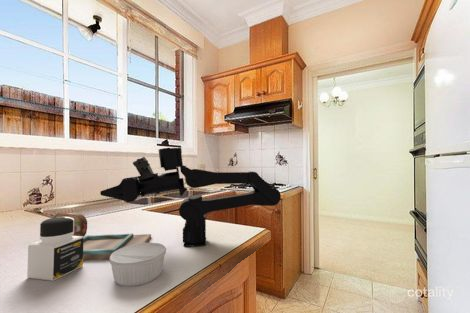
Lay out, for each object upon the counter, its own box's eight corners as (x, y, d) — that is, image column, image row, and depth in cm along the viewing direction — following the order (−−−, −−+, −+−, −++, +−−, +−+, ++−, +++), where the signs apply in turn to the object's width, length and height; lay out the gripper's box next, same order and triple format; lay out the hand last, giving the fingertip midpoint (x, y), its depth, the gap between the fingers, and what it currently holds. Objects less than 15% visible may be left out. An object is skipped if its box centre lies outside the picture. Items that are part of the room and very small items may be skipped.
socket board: (151, 237, 73) (151, 231, 73) (134, 257, 57) (135, 248, 58) (86, 240, 71) (86, 233, 71) (51, 261, 55) (51, 252, 55)
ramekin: (105, 295, 41) (106, 266, 41) (112, 269, 51) (112, 246, 51) (168, 282, 45) (168, 256, 45) (163, 261, 55) (163, 239, 56)
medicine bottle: (53, 281, 46) (55, 222, 46) (26, 278, 47) (28, 221, 47) (83, 266, 52) (84, 215, 53) (59, 263, 54) (60, 214, 54)
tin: (49, 237, 74) (50, 212, 75) (60, 235, 77) (60, 210, 78) (79, 243, 69) (79, 215, 69) (89, 240, 72) (89, 213, 72)
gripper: (163, 157, 76) (114, 164, 73) (154, 155, 58) (88, 163, 55) (167, 189, 76) (118, 197, 73) (159, 197, 58) (94, 207, 55)
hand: (107, 191), depth 64 cm, fingers open, 9 cm apart
